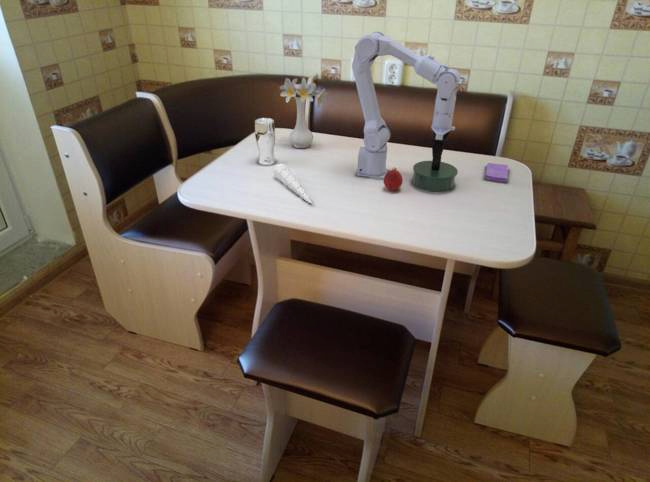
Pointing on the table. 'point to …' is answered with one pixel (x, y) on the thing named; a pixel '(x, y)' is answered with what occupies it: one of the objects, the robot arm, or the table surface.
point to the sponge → (497, 172)
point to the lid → (435, 169)
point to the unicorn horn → (289, 180)
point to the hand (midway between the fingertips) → (437, 154)
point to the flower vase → (301, 108)
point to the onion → (393, 180)
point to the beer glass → (265, 140)
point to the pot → (433, 183)
